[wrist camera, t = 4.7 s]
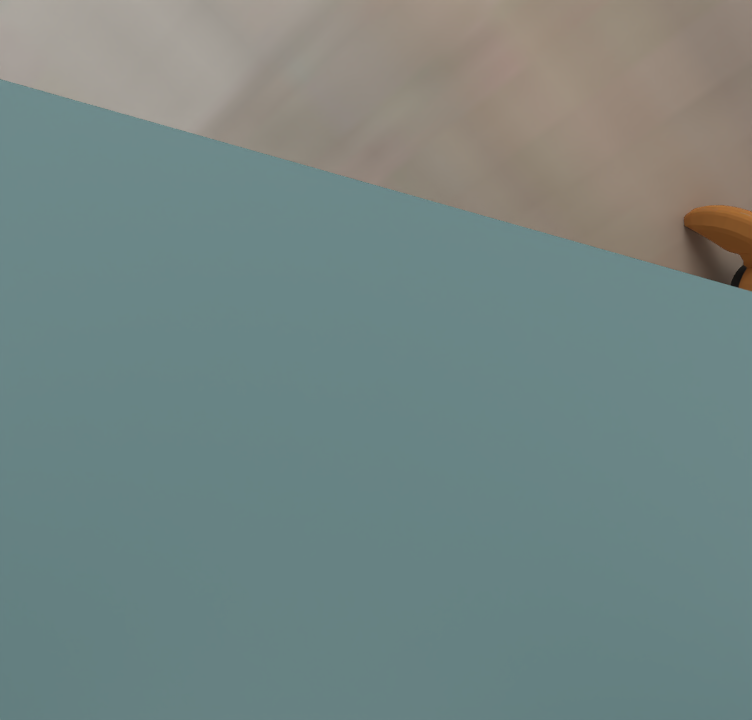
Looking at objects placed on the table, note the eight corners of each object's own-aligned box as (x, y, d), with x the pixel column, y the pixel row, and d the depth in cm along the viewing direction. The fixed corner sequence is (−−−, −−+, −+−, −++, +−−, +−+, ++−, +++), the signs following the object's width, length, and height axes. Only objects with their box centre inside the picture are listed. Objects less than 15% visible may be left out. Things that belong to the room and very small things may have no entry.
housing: (157, 603, 14) (-164, 1220, 5) (222, 187, 11) (-334, -15, 2) (419, 643, 15) (517, 1213, 6) (549, 276, 12) (1122, 396, 3)
